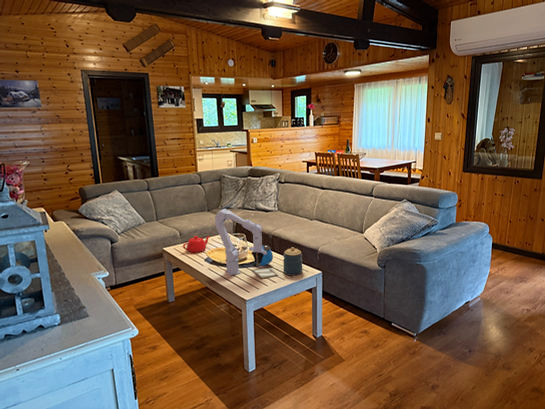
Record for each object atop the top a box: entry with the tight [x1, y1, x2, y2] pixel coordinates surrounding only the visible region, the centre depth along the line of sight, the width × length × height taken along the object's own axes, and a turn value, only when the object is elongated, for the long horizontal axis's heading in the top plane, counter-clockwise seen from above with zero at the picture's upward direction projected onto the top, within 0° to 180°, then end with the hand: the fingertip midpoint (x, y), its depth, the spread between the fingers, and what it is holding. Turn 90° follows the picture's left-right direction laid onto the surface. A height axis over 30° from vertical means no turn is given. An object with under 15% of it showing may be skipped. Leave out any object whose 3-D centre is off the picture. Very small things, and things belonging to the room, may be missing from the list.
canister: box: [282, 246, 303, 276], centre depth 246 cm, size 13×13×18 cm
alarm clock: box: [260, 244, 274, 267], centre depth 261 cm, size 13×6×15 cm, turn 52°
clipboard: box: [251, 266, 279, 280], centre depth 247 cm, size 16×12×1 cm
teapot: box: [182, 235, 211, 254], centre depth 296 cm, size 25×16×12 cm, turn 132°
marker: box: [255, 253, 261, 268], centre depth 244 cm, size 3×3×9 cm
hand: (258, 262), depth 244 cm, fingers closed on marker, 3 cm apart
